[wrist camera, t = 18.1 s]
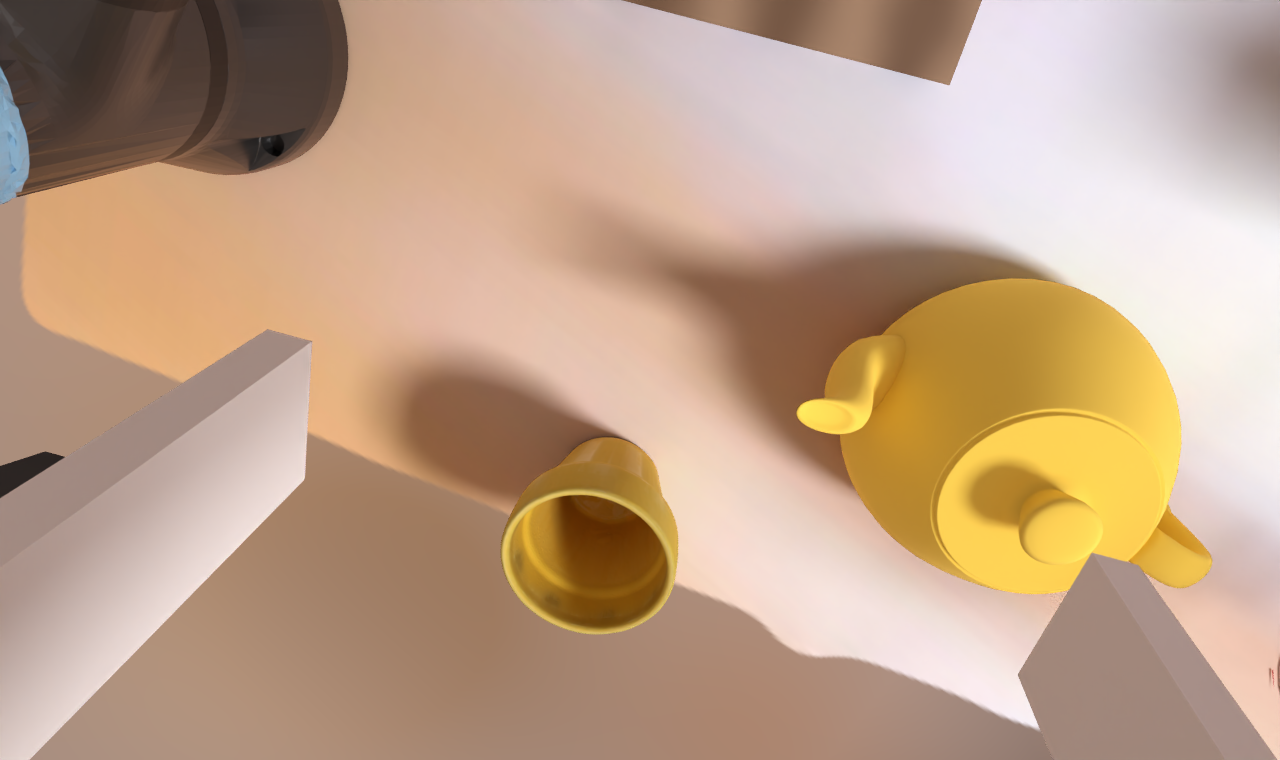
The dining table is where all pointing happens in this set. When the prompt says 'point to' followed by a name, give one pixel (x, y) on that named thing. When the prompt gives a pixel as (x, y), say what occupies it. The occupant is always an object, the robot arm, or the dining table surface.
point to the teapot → (1014, 437)
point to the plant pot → (593, 540)
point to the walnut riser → (850, 28)
